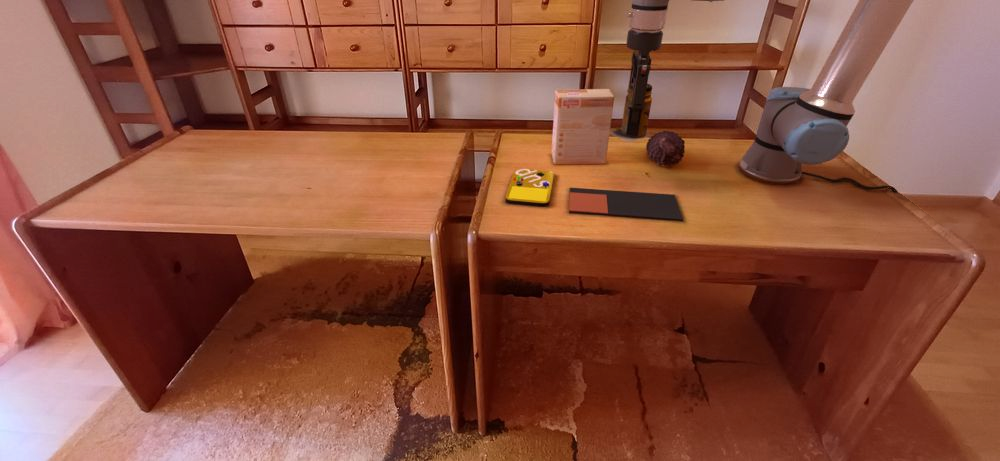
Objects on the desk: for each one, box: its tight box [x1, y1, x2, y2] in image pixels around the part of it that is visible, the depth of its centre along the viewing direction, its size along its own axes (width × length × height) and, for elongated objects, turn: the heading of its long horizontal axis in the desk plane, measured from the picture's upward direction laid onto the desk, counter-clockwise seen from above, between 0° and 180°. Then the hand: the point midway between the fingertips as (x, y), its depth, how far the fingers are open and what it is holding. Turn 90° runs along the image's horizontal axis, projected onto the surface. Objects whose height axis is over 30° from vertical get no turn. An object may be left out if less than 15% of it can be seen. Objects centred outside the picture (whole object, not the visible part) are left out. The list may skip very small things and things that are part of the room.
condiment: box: [608, 83, 654, 143], centre depth 114 cm, size 7×8×12 cm
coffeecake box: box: [551, 88, 615, 165], centre depth 133 cm, size 15×7×20 cm, turn 92°
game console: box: [504, 168, 555, 208], centre depth 123 cm, size 18×11×2 cm, turn 171°
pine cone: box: [645, 130, 686, 167], centre depth 135 cm, size 18×10×10 cm
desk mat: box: [568, 187, 684, 222], centre depth 116 cm, size 26×12×1 cm, turn 82°
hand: (630, 129), depth 117 cm, fingers closed on condiment, 6 cm apart
